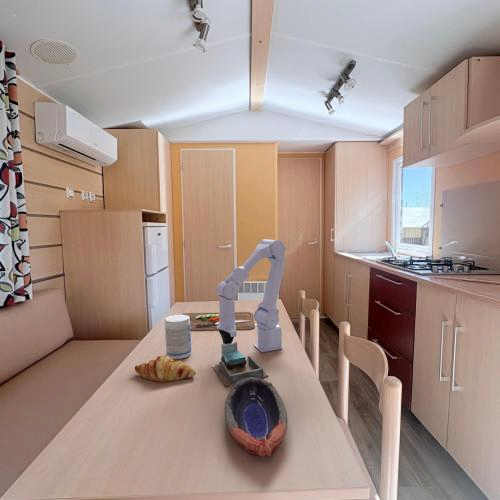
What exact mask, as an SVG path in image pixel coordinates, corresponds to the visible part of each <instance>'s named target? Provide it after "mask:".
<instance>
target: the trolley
mask: <svg viewBox="0 0 500 500" xmlns="http://www.w3.org/2000/svg"><path fill="white" fill-rule="evenodd" d="M220 348H221V349H220V350H221V352H220V353H221V357H220V360H221V361H222V362H223V364H226V366H227V368H228V369H233V368H234V366H235V364H239V366H241V367H244V366H245V365H246V363H247V361H246V360H247V359H246V356H245V355H244V354H243V353H242V352H240V351H239V350H238V342H237V341H234V342H232V343H227V344H223V343H222V344H220ZM221 361H220V362H221Z"/></svg>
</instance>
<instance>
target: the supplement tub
mask: <svg viewBox="0 0 500 500" xmlns="http://www.w3.org/2000/svg"><path fill="white" fill-rule="evenodd" d="M191 332H192V331H191V330H190V317H189V316H187V315H181V314H175V315H169V316H167V317H165V318H164V333H165V334H164V335H165V339H164V340H165V354H166V355H165V356H169V357H171V358H172V359H173V360H182V359H186V358H188V357H189V356H190V355H191V354H192V338H191V337H192V335H191V334H192V333H191Z"/></svg>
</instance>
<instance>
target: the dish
mask: <svg viewBox="0 0 500 500" xmlns="http://www.w3.org/2000/svg"><path fill="white" fill-rule="evenodd" d="M224 404H225V405H224V416H225V423H226V425H227V429H228V431H229V433H230V435H231V437H232V438H233V440H234V441H235V442H236V444H237V445H238V446H239V447H241V448H243V449H244V450H245V451H247V452H248V453H249V454H251V455H254V456H259V457H271V456H272V455H274V454H275V453H276V451H277V449H278V448H279V446H280V444H281V443H282V441H283V439H284V438H285V435H286V434H287V430H288V413H287V409H286V405H285V403H284V399H282V397H281V395H280V394H279V392H278V390H277V389H276V388H275V386H274V385H273V383H272V381H271V382H269V381H267V380H265V379H264V378H261V379H260V378H255V377H250V378H245V379H242V380H240V381H239V382H237V383H236V384H235V385H232V387H231V389H230V390H229V392H228V394H227V395H226V400H225V403H224Z"/></svg>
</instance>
